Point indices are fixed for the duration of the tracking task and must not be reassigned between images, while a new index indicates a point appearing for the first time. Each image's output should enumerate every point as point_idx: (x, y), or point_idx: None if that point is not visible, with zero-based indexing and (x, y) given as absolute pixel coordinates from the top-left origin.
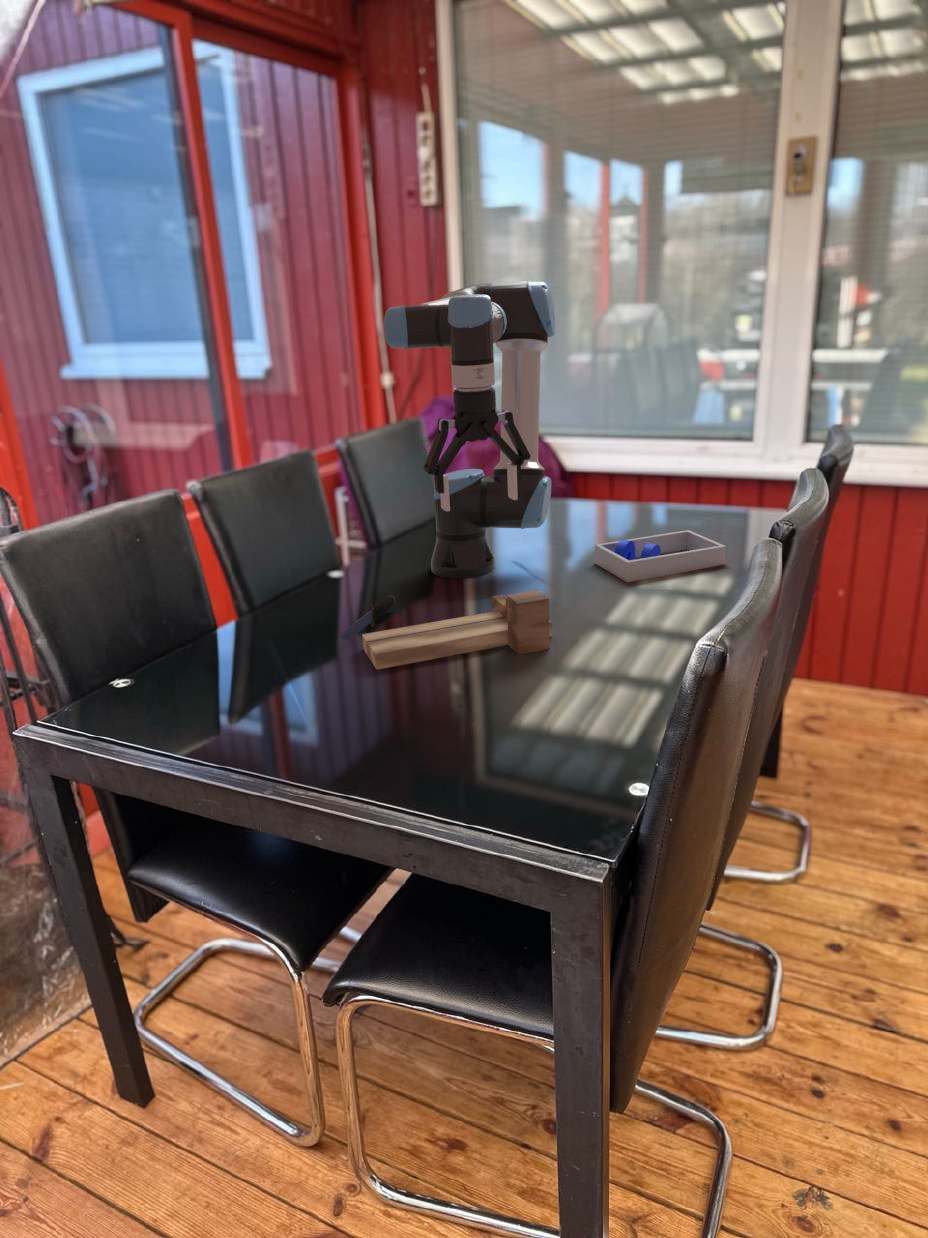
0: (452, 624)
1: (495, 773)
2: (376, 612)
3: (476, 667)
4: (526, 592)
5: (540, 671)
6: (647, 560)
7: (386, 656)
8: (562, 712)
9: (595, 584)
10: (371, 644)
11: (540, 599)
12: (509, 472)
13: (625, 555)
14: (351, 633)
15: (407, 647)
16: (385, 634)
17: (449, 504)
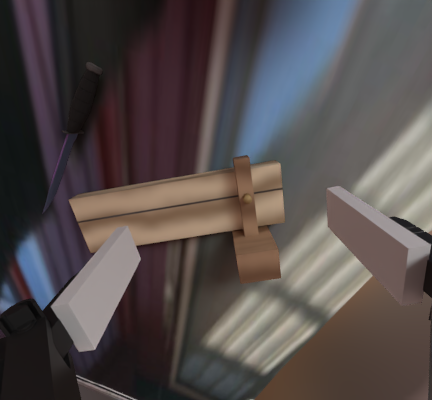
0: (174, 199)
1: (180, 382)
2: (77, 130)
3: (191, 260)
4: (262, 254)
5: None
6: None
7: None
8: (238, 336)
9: (414, 48)
10: (83, 229)
11: (270, 278)
12: (378, 247)
13: None
14: (55, 189)
15: None
16: (96, 207)
17: (134, 270)
